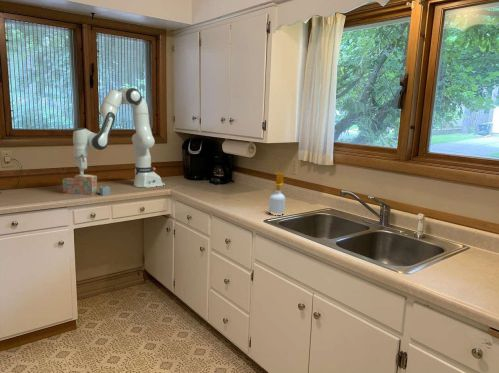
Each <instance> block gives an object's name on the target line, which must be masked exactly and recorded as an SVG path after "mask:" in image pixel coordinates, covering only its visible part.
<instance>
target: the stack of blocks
mask: <svg viewBox="0 0 499 373" xmlns="http://www.w3.org/2000/svg"><path fill="white" fill-rule="evenodd" d="M61 183H62V193H65V194H74V195H75V194H76V195H85V196H94V195H97V194H98V176H97V175H93V174H83V175H81V174H80V173H79V174H76V175H74V177H64V178H62V180H61Z"/></svg>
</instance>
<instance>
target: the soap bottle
mask: <svg viewBox="0 0 499 373" xmlns="http://www.w3.org/2000/svg"><path fill="white" fill-rule="evenodd" d="M274 174H275V175H276V179H275V180H276V181H275V182H276V183H273V185H274V186H275V187H276V188H275V189H274V192H273V193H272V194H271V195H270V196H269V203H268V204H269V206H268V212H269V211H270V212H274V213H282V212H284V211H286V209H285V208H286V197H285V195H284V194H283V193H282V190H281V186H283V185H284V173H282V172H274Z"/></svg>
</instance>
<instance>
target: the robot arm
mask: <svg viewBox="0 0 499 373" xmlns="http://www.w3.org/2000/svg"><path fill="white" fill-rule="evenodd" d="M122 104H123V105H130V107H131V109H132V110H131V112H132V121H133V122H132V123H133V124H132V125H133V127H134V128H135V129H134V130H135V132H136V133H134V134H132V136H131V142H132V145H133V150H134V151H133V152H134V157H135V159H134V161H135V164H134V166H135V167H134V182H133V187H138V188H146V189H147V188H157V187H164V186H165V183H164V182H163V181H162V178H161V176H160V175H159V174H158V173H156V172H155V171H156V169H157V168H156V167H154V166H153V167H152V157H151V156H152V155H151V153H150V149H151V148H153V146H154V145H155V138H154V136H153V132H152V128H151V125H150V116H149V109H148V107H149V106H148V104H147V101H146V99H145V98H143V96H142V94H141V92H140V90H139V89H137V88H134V87H124V88H120V89H118V90H114V89H111V90H109V91H108V92H107V94H106V95H105V97H104V98H103V100H102V102H101V104H100V107H99V114H100V115H101V116H102V119H103V122H102V124H101V128H100V129H99V132H97V133H96V132H92V131H90V130H89V129H87V127H86V128H85V127H78V128H75V129H74V130H73V134H72V143H73V146H72V147H73V150H72V151H73V157H74V161H75V165H76V166H77V167H78V169H79V174H81V175H85V173H84V170H87V169H88V162H87V161H88V160H87V157H88V156H89V148H93V149H96V150H100V151H102V150H105V149H106V148H107V147H108V146H109V141H110V135H111V131H112V129H113V126H114V124H115V121H116V116H117V113H118V111H119V109H120V106H121V105H122ZM163 185H164V186H163ZM156 186H157V187H156Z"/></svg>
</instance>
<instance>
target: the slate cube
mask: <svg viewBox="0 0 499 373" xmlns="http://www.w3.org/2000/svg"><path fill="white" fill-rule="evenodd" d="M98 194H99V195H101V196H110V195H111V187H110V186H107V185H102V186H99V187H98Z"/></svg>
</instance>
